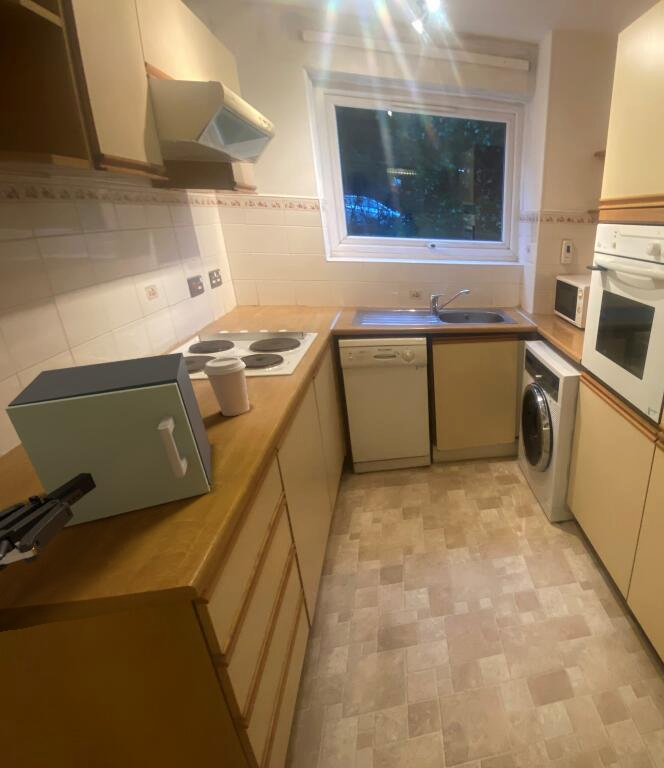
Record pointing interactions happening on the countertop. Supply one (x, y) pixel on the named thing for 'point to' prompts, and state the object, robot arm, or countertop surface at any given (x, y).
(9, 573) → the countertop surface
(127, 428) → the door
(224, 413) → the coffee cup
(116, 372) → the cupboard
